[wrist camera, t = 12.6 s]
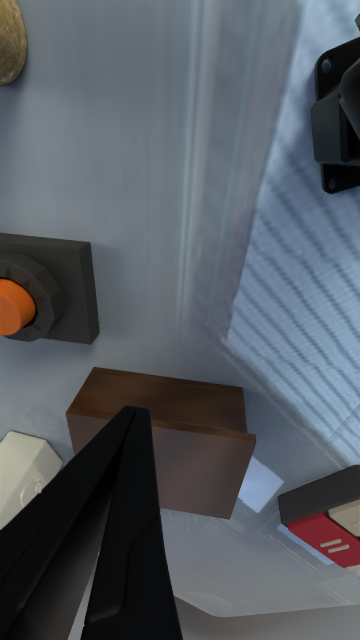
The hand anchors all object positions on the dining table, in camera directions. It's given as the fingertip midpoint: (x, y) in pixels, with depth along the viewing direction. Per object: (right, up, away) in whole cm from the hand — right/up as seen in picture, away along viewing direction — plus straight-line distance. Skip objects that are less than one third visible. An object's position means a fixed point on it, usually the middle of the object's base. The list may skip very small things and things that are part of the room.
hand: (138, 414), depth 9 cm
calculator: (+23, -20, +24) cm, 38 cm away
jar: (-18, -14, +26) cm, 35 cm away
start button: (-11, +4, +10) cm, 16 cm away
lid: (-1, -10, +15) cm, 18 cm away
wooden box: (0, -8, +20) cm, 21 cm away
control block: (-10, +6, +13) cm, 18 cm away
